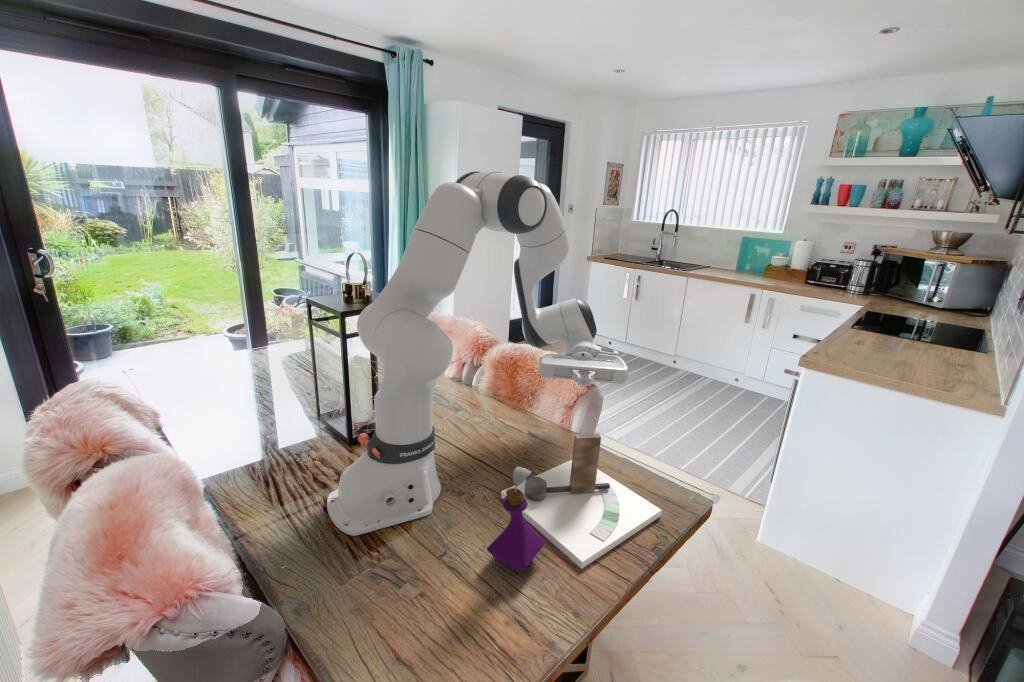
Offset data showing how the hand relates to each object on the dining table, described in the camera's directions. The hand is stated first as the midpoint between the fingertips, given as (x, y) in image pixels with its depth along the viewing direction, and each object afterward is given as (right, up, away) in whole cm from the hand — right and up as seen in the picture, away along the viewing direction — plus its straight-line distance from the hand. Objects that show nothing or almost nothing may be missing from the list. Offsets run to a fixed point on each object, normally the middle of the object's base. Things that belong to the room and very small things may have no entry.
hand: (584, 382), depth 98 cm
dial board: (-2, -25, -6) cm, 26 cm away
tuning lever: (-4, -22, -4) cm, 23 cm away
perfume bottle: (-15, -29, -20) cm, 38 cm away
